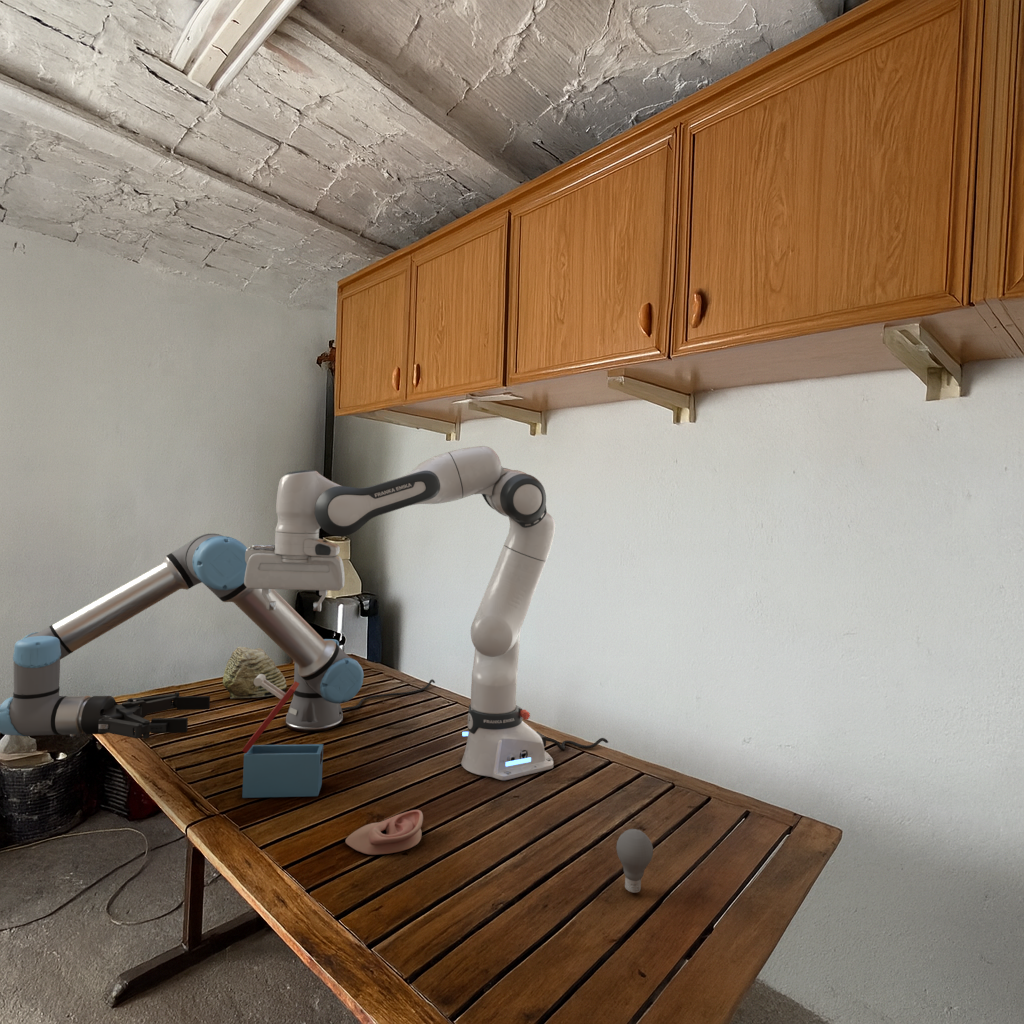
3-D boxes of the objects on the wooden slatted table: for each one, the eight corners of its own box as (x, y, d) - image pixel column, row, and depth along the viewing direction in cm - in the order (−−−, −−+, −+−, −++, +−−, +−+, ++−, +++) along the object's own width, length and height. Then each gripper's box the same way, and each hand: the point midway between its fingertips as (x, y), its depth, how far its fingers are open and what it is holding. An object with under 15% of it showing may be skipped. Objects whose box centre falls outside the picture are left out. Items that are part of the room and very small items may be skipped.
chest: (321, 784, 139) (323, 744, 139) (317, 796, 134) (319, 753, 134) (249, 786, 137) (250, 744, 137) (242, 798, 132) (243, 754, 132)
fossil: (218, 695, 195) (220, 647, 195) (278, 685, 208) (279, 640, 207) (228, 703, 189) (230, 653, 188) (289, 692, 201) (290, 645, 201)
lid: (299, 683, 138) (268, 662, 137) (294, 691, 133) (262, 668, 132) (252, 743, 137) (221, 722, 136) (246, 753, 132) (213, 731, 131)
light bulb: (610, 879, 108) (613, 822, 108) (644, 879, 109) (647, 822, 109) (619, 902, 102) (622, 840, 102) (655, 901, 103) (658, 840, 103)
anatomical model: (338, 827, 114) (365, 799, 125) (337, 849, 114) (364, 818, 125) (408, 839, 111) (429, 808, 122) (407, 861, 111) (428, 828, 122)
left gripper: (116, 712, 142) (217, 710, 145) (53, 758, 117) (175, 755, 120) (117, 679, 142) (217, 678, 145) (54, 718, 117) (176, 716, 120)
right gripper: (241, 545, 130) (238, 612, 130) (343, 548, 133) (341, 614, 133) (249, 542, 136) (247, 606, 137) (347, 546, 139) (344, 608, 140)
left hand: (198, 713), depth 132 cm, fingers open, 13 cm apart
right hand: (294, 610), depth 135 cm, fingers open, 8 cm apart
